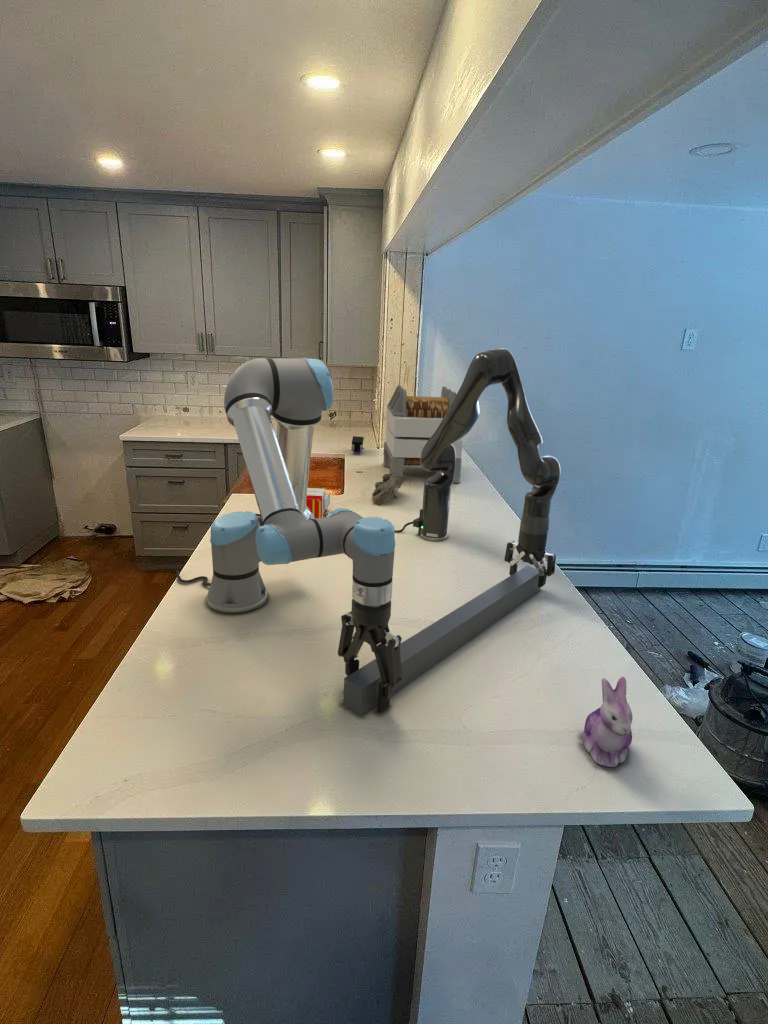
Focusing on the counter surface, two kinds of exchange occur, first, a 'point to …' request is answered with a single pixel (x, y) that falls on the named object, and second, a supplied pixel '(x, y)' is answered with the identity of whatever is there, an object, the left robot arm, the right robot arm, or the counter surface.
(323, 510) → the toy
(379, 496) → the fossil
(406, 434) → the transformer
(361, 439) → the figurine character
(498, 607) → the post
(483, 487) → the counter surface
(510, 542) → the right robot arm
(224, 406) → the left robot arm
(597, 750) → the figurine
